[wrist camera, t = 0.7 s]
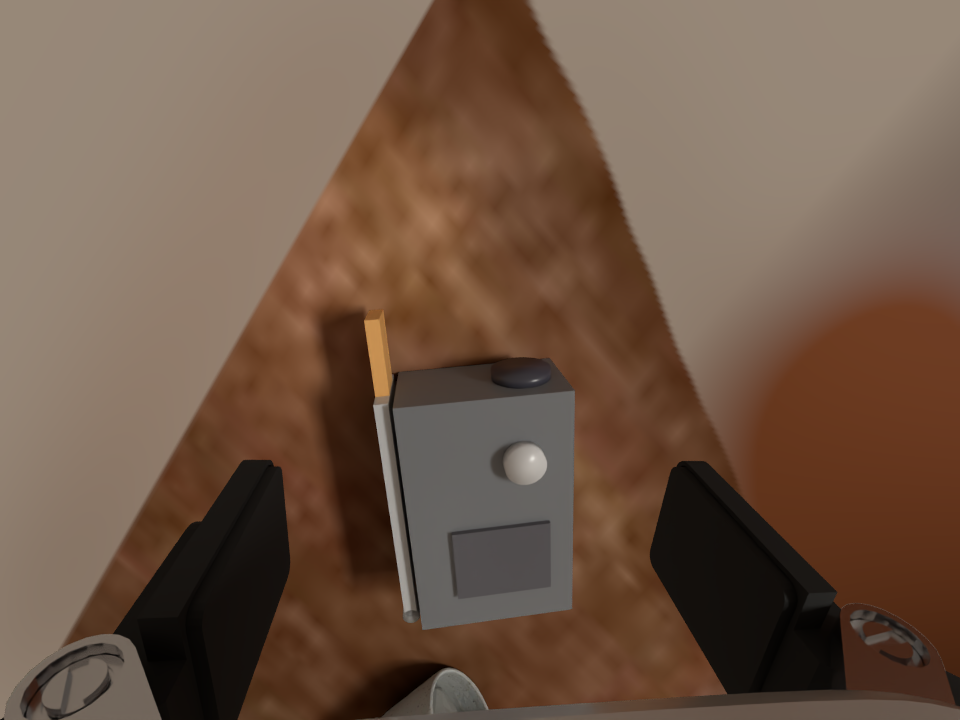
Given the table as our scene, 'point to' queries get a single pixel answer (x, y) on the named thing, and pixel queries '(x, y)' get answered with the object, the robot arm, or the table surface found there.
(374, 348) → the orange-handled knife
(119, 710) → the robot arm
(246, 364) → the table surface
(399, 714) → the ceramic mug
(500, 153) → the table surface
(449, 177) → the table surface
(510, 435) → the grey control box
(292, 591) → the table surface
